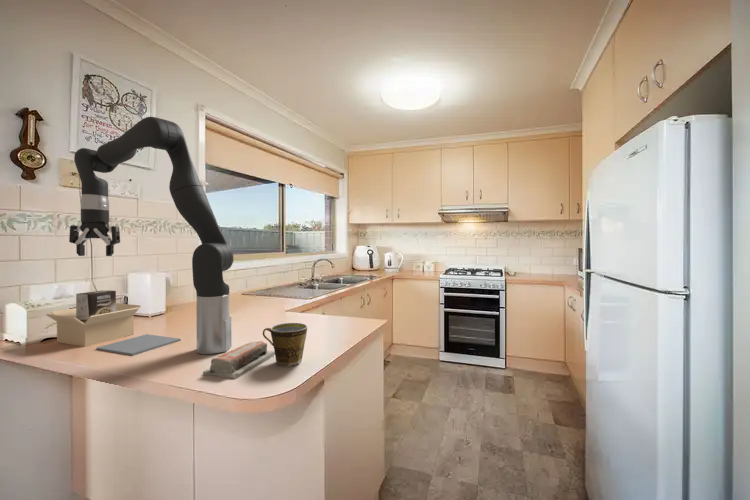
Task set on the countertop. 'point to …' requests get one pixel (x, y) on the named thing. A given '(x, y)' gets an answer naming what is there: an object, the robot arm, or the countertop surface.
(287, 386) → the countertop surface
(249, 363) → the packaged product
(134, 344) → the mat
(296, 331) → the ceramic cup
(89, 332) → the carton
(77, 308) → the coffee box
